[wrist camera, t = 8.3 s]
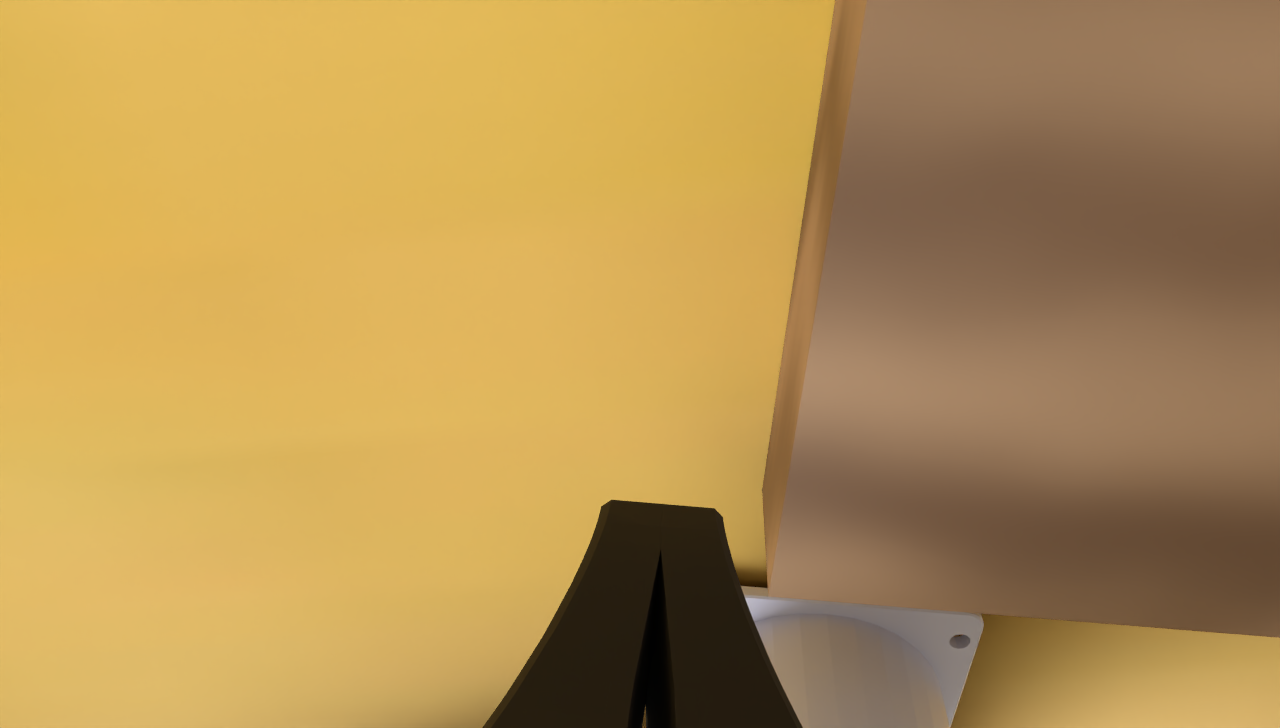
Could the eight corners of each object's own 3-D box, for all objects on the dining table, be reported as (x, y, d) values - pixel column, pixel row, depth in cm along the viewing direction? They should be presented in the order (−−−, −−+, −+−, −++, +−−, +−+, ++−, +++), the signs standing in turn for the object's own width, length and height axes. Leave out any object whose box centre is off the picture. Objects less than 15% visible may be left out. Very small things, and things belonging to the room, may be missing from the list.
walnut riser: (1265, 529, 25) (1338, 641, 22) (762, 490, 25) (768, 596, 22) (1740, -406, 15) (1987, -427, 12) (903, -454, 15) (946, -484, 12)
